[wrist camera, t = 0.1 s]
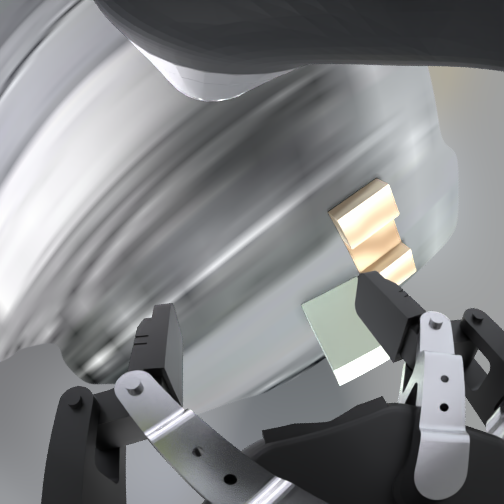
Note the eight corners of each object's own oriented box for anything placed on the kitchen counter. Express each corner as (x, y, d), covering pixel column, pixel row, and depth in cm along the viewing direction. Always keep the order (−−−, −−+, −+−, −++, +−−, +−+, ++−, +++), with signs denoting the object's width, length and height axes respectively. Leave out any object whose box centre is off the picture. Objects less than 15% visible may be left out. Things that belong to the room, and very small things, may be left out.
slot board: (327, 212, 29) (337, 220, 27) (376, 178, 28) (388, 183, 26) (368, 291, 36) (376, 301, 34) (406, 262, 35) (416, 270, 33)
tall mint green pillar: (300, 304, 35) (333, 370, 25) (356, 276, 34) (402, 332, 25) (308, 322, 37) (339, 385, 27) (360, 295, 36) (402, 350, 27)
